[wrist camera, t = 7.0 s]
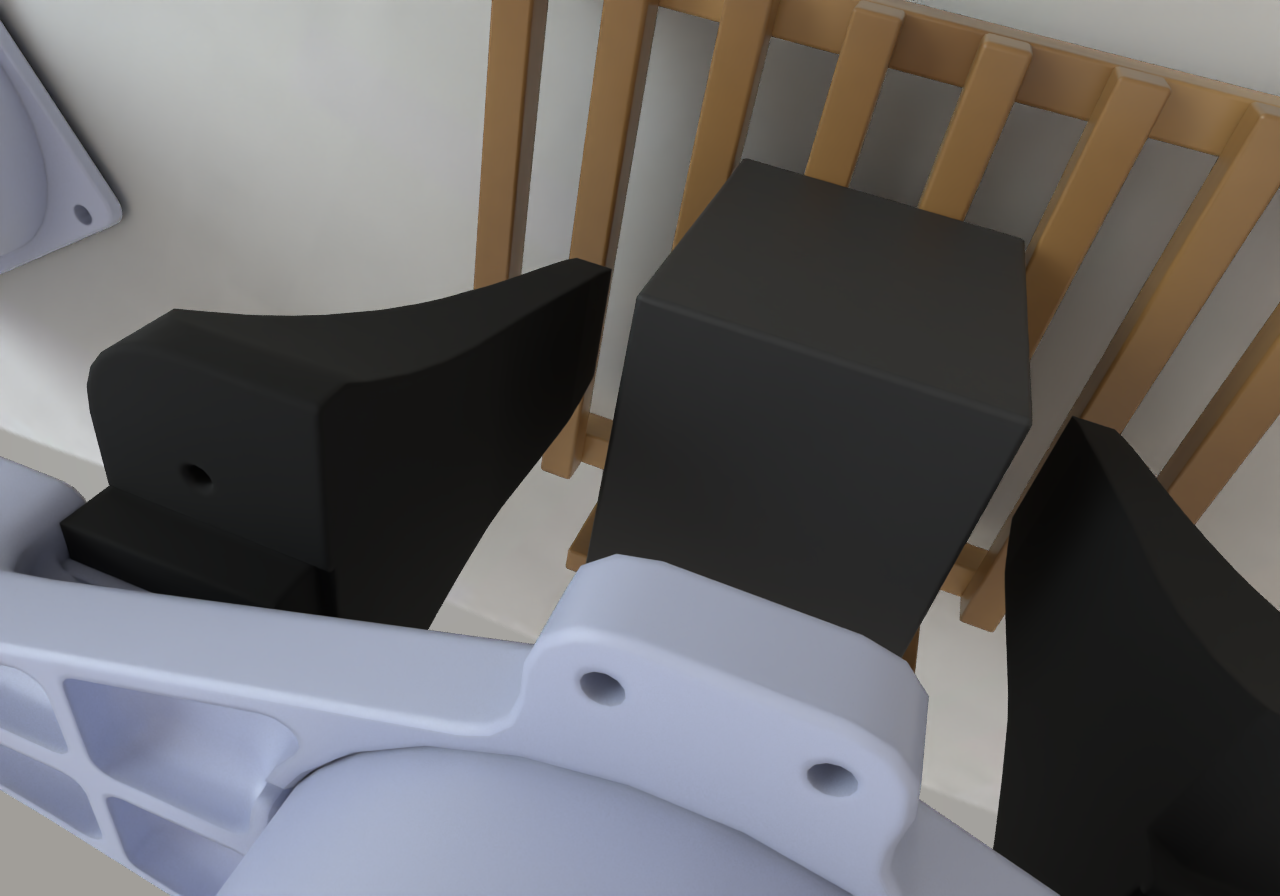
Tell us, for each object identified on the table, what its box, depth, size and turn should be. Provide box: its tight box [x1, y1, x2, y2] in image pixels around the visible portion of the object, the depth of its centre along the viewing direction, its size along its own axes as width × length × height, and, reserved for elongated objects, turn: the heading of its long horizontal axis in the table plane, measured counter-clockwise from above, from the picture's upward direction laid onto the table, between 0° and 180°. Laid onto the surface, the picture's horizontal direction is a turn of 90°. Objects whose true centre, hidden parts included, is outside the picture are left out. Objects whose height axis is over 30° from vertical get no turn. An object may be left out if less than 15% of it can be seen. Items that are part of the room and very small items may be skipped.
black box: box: [586, 159, 1032, 658], centre depth 13 cm, size 4×5×5 cm
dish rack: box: [474, 0, 1280, 674], centre depth 15 cm, size 15×10×6 cm
